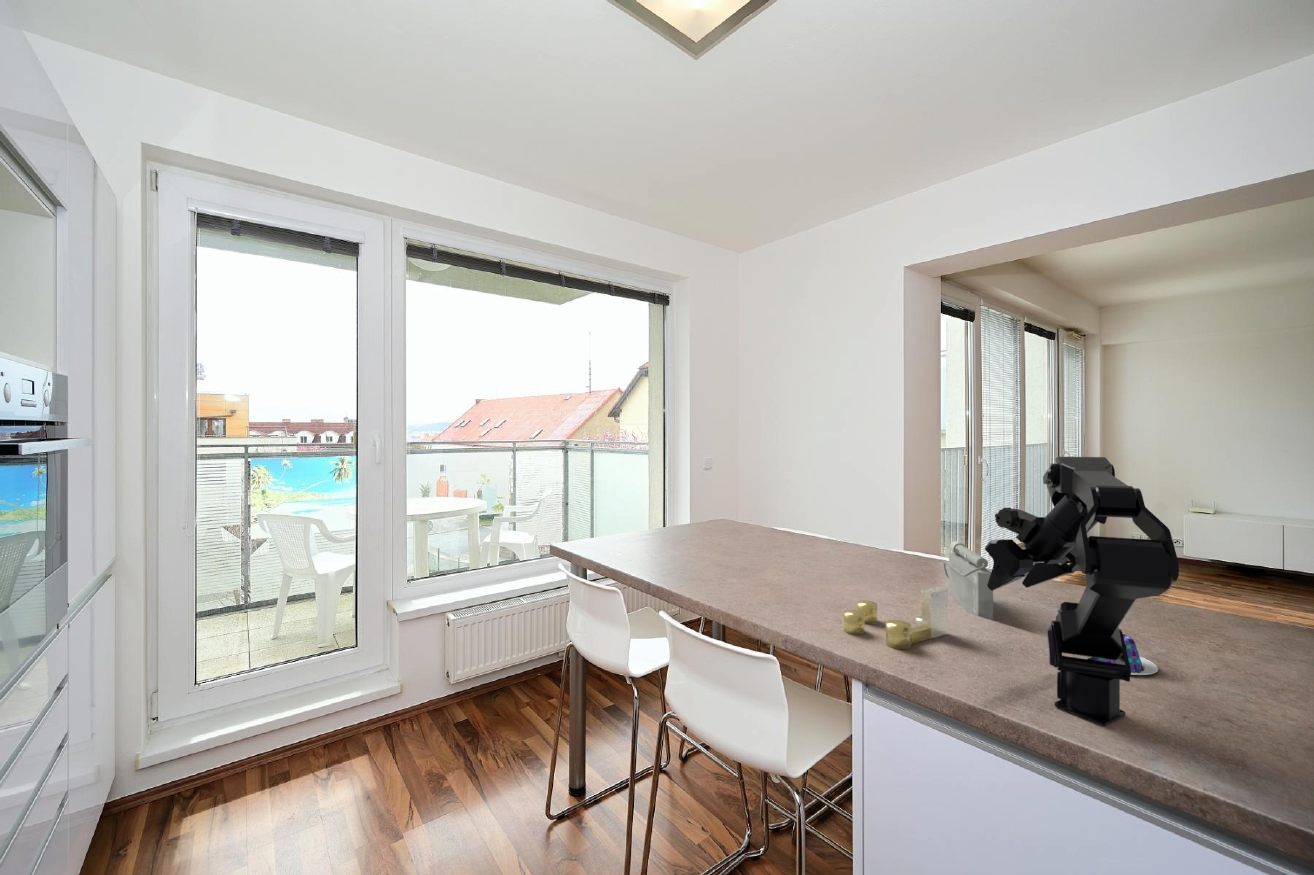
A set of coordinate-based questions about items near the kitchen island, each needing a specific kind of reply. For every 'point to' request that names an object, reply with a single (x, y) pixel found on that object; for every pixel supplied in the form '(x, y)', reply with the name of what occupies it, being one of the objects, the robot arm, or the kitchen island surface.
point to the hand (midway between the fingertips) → (1007, 587)
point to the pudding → (1133, 659)
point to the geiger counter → (969, 581)
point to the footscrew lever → (932, 621)
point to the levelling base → (862, 617)
